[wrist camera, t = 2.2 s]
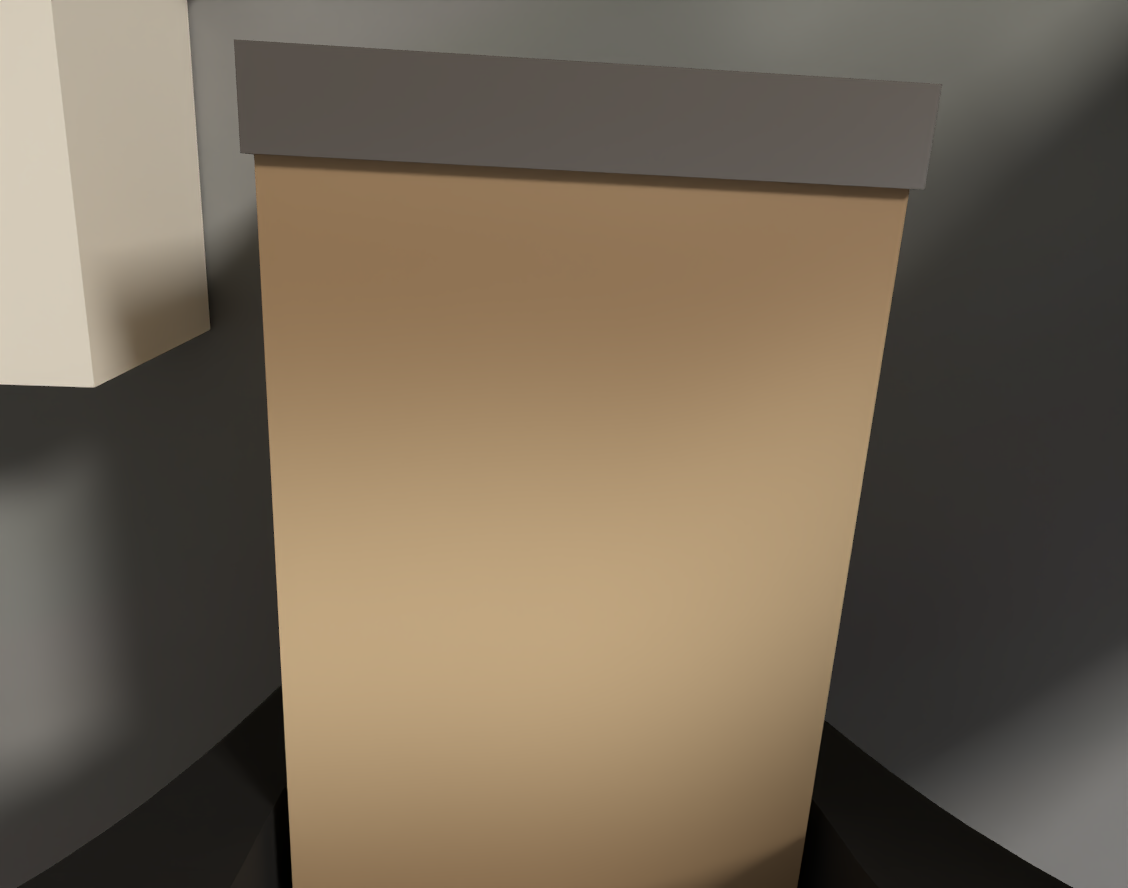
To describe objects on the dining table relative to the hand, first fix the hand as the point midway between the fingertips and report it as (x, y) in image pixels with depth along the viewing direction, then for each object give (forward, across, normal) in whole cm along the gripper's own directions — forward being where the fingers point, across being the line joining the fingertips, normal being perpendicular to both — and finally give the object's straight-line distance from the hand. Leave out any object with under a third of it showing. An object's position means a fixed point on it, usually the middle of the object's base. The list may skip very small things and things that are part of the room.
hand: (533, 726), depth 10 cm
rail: (+1, 0, 0) cm, 1 cm away
